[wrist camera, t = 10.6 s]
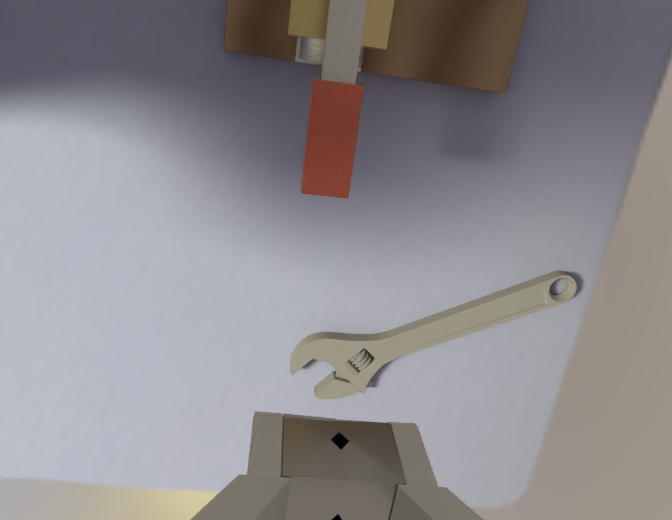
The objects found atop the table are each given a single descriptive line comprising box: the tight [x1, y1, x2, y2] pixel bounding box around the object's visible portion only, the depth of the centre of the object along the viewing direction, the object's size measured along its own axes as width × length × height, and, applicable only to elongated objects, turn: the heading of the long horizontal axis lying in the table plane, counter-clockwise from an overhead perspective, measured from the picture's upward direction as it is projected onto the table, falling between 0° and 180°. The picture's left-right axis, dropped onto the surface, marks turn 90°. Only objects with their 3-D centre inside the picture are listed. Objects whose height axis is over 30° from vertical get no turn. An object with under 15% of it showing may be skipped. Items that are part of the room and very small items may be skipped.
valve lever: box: [301, 0, 367, 198], centre depth 28 cm, size 13×3×2 cm, turn 173°
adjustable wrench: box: [290, 271, 577, 399], centre depth 47 cm, size 25×6×2 cm, turn 105°
